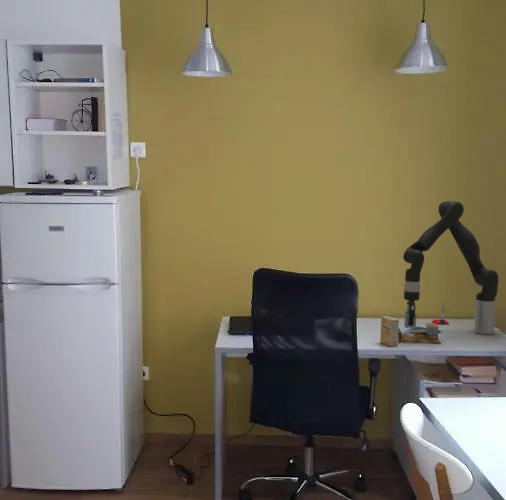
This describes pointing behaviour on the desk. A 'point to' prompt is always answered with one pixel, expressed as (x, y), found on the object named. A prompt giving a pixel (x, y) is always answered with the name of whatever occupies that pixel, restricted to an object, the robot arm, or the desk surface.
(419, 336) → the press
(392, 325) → the supplement box
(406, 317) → the block
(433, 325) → the grey cube
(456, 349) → the desk surface
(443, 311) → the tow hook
